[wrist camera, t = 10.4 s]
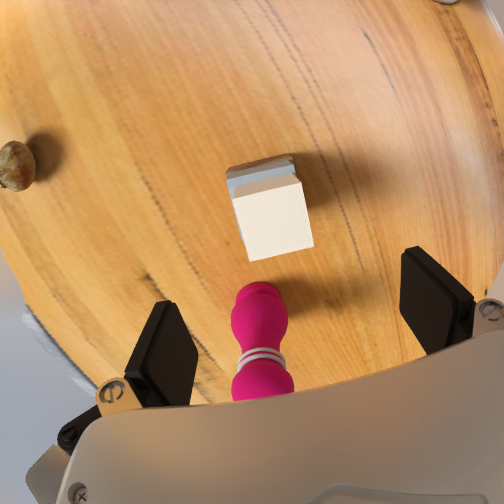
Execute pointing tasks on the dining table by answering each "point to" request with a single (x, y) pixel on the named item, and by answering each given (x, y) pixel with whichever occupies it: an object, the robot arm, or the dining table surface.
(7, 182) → the onion
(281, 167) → the slate block
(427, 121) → the dining table surface
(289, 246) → the cream block
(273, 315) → the pepper mill
